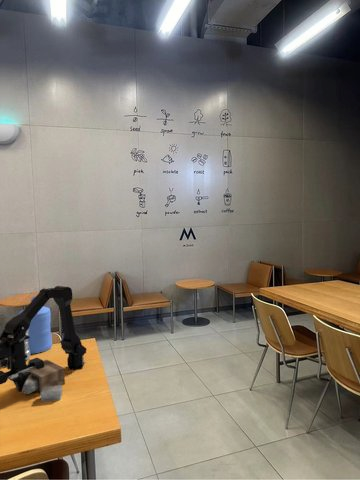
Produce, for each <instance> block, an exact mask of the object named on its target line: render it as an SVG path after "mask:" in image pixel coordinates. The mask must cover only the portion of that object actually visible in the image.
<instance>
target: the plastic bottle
mask: <svg viewBox="0 0 360 480" xmlns="http://www.w3.org/2000/svg"><path fill="white" fill-rule="evenodd" d="M25 334H26V335H27V336H29V329H28V330H27V332H26V333H25ZM25 354H26V355H27V358H26V361H27V360H30V358H31V355H32V354H31V353H30V349H29V343H28V339H26V340H25Z"/></svg>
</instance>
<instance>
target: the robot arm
mask: <svg viewBox="0 0 360 480" xmlns="http://www.w3.org/2000/svg"><path fill="white" fill-rule="evenodd" d="M34 297H35V298H34V299H33V300H32V302H31V301H30V303H29V304H27V306H26V307H25V308H24V309H23V312H22V313H20V314H19V313H18V314H17V315H15V316H14V317H13V316H12V318H11V319H10V320H8V321H7V322H6V323H5V325H4V328H3V330H2V332H1V334H0V368H3V367H4V369H7V370H8V371H6V372H4V371H3V370H0V385H3V384H5V383H6V382H8V380H10V381H11V382H13V384H14V386H15V388H16V390H17V391H18V393H22V389H23V387H24V384H25V382H26V380H27V378H28V376H29V375H30V374H31V372H29V369H30V368H33V367H35V368H36V369H41V368H43V367H44V366H45V365H44V360H43V359H41V358H39V357H34V358H31V359H28V362H27V360H26V358H27V355H26V354H25V340H26V339H29V338H30V337H29V336H27V335H26V334H25V333H26V332H27V330H28V328H29V327H30V323H31V320H32V319H33V318H34V317H35V315H36V314H37V313H38V312H39V311H40V310H41V308H42V307H43V306H44V307H45V305H46V304H47V302H48V301H49V300H50V299H53V301H54V302H55V304H56V305H57V306H58V309H59V315H60V320H61V325H62V331H63V337H62V339H60V345H61V347H60V348H61V349H62V350H63V351H64V354H67V355H68V356H67V360H66V362H67V370H68V371H69V370H81V369H83V367H84V366H85V363H86V362H85V360H84V358H85V357H84V355H86V354H87V348H86V347H85V346H84V345H83V344H82V341H81V338H80V337H79V335H78V334H77V333H76V328H75V323H74V317H73V312H72V308H71V305H72V300H73V290H72V288H71V287H69V286H61V285H56V286H54V287H51V288H49V287H48V288H46V287H45V288H44V287H43V288H42V289H40V290H39V292H38V294H37V295H36V296H34Z"/></svg>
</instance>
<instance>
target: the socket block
mask: <svg viewBox="0 0 360 480" xmlns="http://www.w3.org/2000/svg"><path fill="white" fill-rule="evenodd" d="M43 361H44V365H45V366H44V367H43V368H41V369H36V368H35V367H33V368H30V369H29V372H31V374H30V375H29V376H28V378H27V379H29V378H32V377H35V378H37V379H38V386H39V389H38V390H36V391H35V392H37V393H39V394H41V391H42V388H43V387H48V386H58V385H62V386H64V385H65V384H66V379H65V367H63V366H61V365H60V364H57V363H55V362H52V361H51V360H48V359H44V360H43Z"/></svg>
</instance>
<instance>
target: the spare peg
mask: <svg viewBox="0 0 360 480" xmlns="http://www.w3.org/2000/svg"><path fill="white" fill-rule="evenodd" d="M62 396H63V385H58V386H48V387H43V388H42V391H41V393H40V402H41V403H42V402H43V403H45V402H53V401H54V402H55V401H61V399H62Z"/></svg>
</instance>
